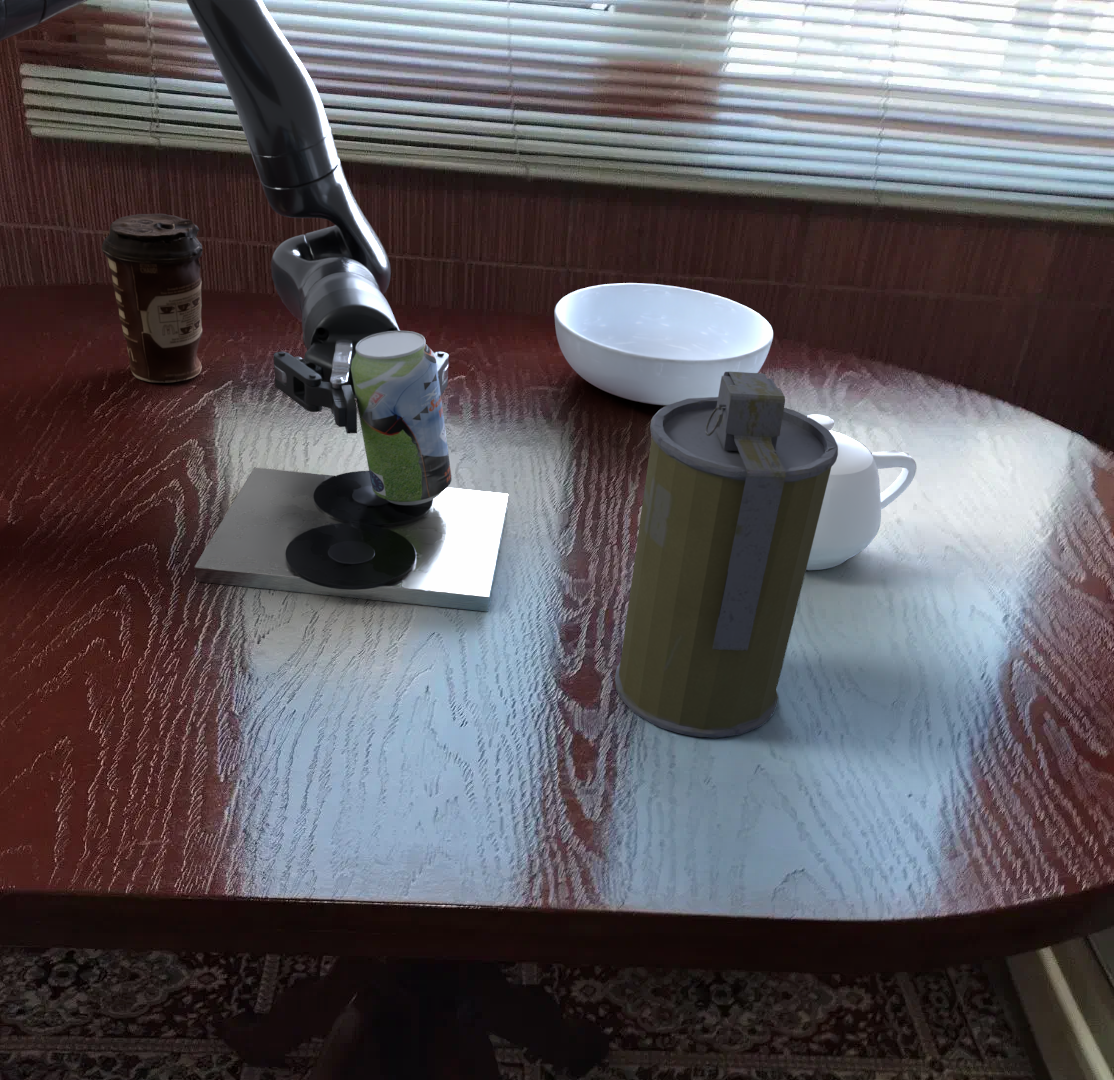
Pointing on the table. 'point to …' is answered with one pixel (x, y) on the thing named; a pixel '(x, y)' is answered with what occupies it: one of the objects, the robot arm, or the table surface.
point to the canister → (721, 557)
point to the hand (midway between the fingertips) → (378, 420)
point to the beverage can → (401, 417)
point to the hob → (357, 541)
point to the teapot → (854, 499)
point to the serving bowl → (658, 340)
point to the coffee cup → (157, 293)
